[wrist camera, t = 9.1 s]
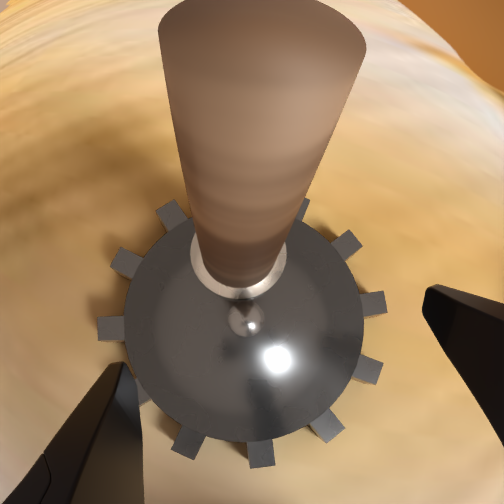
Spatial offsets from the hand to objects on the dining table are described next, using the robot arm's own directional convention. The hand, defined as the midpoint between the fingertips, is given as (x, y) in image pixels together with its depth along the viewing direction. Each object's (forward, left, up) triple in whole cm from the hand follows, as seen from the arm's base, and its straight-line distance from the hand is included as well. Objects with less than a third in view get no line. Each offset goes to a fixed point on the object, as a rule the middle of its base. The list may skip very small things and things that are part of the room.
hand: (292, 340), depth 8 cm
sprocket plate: (+1, +1, -9) cm, 10 cm away
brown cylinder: (+4, +3, -8) cm, 9 cm away
